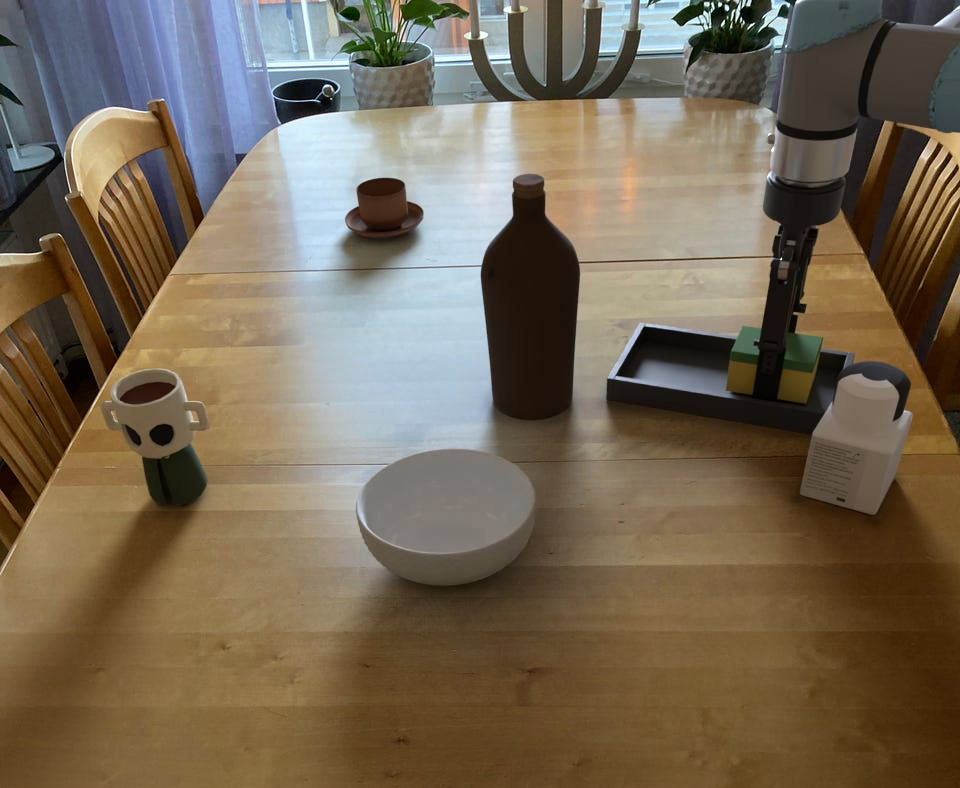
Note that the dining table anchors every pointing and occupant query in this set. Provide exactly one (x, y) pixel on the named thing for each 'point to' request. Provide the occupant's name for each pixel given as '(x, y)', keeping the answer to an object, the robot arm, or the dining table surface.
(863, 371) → the container
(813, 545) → the dining table surface
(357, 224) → the cup and saucer
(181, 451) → the character mug
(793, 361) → the sponge
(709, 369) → the tray
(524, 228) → the olive oil
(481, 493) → the cereal bowl
